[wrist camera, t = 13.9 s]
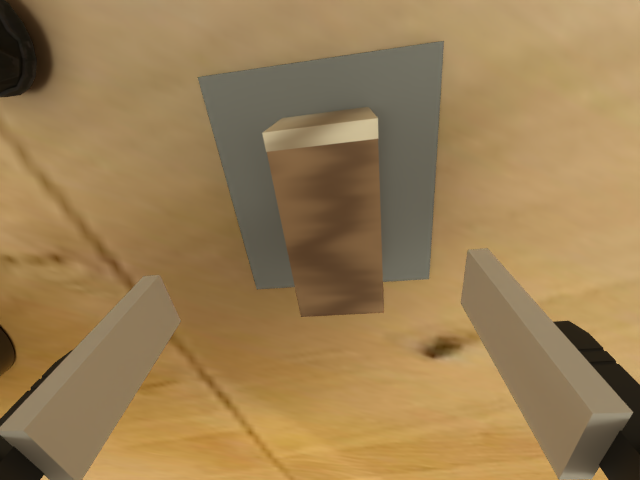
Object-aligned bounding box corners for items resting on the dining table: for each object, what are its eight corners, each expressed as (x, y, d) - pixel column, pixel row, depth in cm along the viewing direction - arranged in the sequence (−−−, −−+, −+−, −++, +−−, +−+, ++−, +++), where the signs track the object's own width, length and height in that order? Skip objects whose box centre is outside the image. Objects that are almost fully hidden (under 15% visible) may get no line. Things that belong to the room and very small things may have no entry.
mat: (258, 285, 29) (256, 289, 29) (201, 77, 21) (197, 77, 20) (427, 275, 27) (429, 279, 27) (441, 41, 19) (443, 41, 18)
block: (300, 317, 22) (262, 132, 16) (308, 269, 27) (282, 118, 21) (384, 312, 21) (377, 118, 15) (375, 265, 27) (368, 106, 20)
